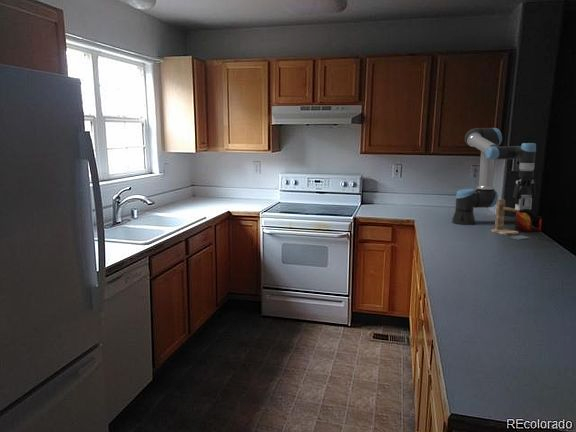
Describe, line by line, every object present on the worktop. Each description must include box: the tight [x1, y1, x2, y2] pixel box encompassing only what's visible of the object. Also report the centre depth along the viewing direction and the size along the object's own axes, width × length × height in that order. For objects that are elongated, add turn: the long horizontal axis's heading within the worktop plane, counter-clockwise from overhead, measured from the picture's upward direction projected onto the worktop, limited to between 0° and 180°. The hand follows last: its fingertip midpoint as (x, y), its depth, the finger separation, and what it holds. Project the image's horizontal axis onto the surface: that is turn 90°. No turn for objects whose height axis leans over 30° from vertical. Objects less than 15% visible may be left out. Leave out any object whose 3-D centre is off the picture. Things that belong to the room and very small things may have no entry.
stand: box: [490, 199, 520, 236], centre depth 267 cm, size 13×10×20 cm
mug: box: [514, 209, 543, 233], centre depth 275 cm, size 10×14×12 cm
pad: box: [510, 235, 531, 241], centre depth 254 cm, size 6×9×1 cm, turn 111°
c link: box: [520, 194, 532, 210], centre depth 251 cm, size 8×3×8 cm, turn 111°
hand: (523, 209), depth 251 cm, fingers closed on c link, 8 cm apart
